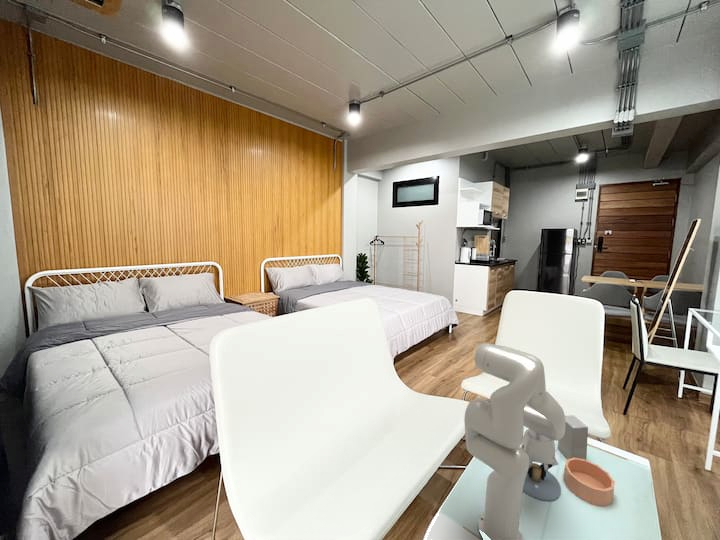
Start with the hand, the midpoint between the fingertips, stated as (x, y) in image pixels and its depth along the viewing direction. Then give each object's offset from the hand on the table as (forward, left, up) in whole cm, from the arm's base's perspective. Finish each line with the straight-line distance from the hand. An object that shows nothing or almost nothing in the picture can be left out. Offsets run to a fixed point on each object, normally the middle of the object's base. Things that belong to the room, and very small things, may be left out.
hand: (535, 475), depth 108 cm
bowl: (+2, -18, -2) cm, 18 cm away
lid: (0, 0, -2) cm, 2 cm away
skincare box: (+18, -19, -3) cm, 26 cm away
